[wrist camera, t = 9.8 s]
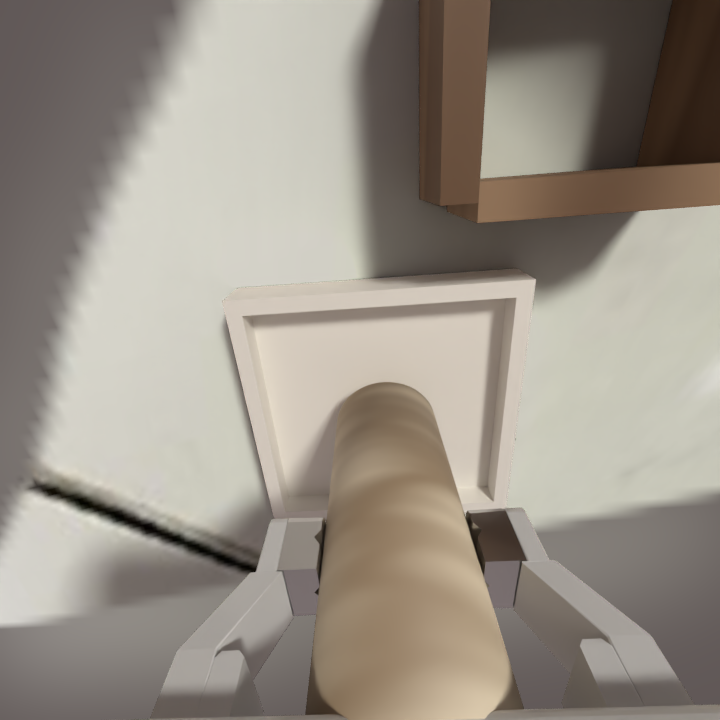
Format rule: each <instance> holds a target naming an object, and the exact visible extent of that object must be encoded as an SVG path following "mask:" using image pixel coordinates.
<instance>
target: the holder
mask: <svg viewBox="0 0 720 720" xmlns="http://www.w3.org/2000/svg"><path fill="white" fill-rule="evenodd" d="M490 4H491V0H419V198H420V199H421V200H424V201H427V202H430V203H433V204H436V205H439V206H446V205H447V212H449V213H452V214H455V215H457V216H460V217H462V218H465V219H468V220H470V221H473V222H476V223H485V222H499V221H512V220H525V219H539V218H552V217H565V216H579V215H592V214H605V213H619V212H632V211H645V210H659V209H672V208H685V207H699V206H712V205H720V0H673V2H672V7H671V11H670V16H669V20H668V25H667V29H666V34H665V38H664V43H663V48H662V52H661V57H660V61H659V66H658V70H657V75H656V79H655V84H654V89H653V93H652V98H651V102H650V107H649V111H648V116H647V120H646V125H645V130H644V134H643V139H642V143H641V148H640V152H639V157H638V161H637V166H636V167H623V168H610V169H598V170H585V171H573V172H560V173H547V174H535V175H522V176H510V177H497V178H484V179H480V171H481V155H482V138H483V121H484V104H485V88H486V71H487V54H488V38H489V21H490Z"/></svg>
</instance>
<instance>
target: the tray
mask: <svg viewBox="0 0 720 720" xmlns="http://www.w3.org/2000/svg"><path fill="white" fill-rule="evenodd" d="M535 284H536V279H535V278H533V277H531V276H529V275H528V274H526V273H524V272H522V271H521V270H519V269H517V268H514V269H500V270H486V271H472V272H457V273H443V274H429V275H415V276H401V277H387V278H372V279H358V280H344V281H330V282H316V283H301V284H287V285H273V286H259V287H245V288H237V289H236V290H234V291H233V292H232V293H231V294H230V295H229V296H227V297H226V298H225V299H224V300H223V301H222V303H223V307H224V312H225V316H226V320H227V324H228V328H229V333H230V337H231V341H232V345H233V349H234V353H235V358H236V362H237V366H238V370H239V374H240V379H241V383H242V387H243V391H244V395H245V400H246V404H247V408H248V412H249V416H250V420H251V425H252V429H253V433H254V437H255V441H256V446H257V450H258V454H259V458H260V462H261V467H262V471H263V475H264V479H265V483H266V487H267V492H268V496H269V500H270V504H271V508H272V513H273V517H274V519H285V518H325V519H327V511H328V502H329V493H330V484H331V475H332V465H333V456H334V447H335V438H336V429H337V420H338V414H339V411H340V409H341V407H342V405H343V404H344V402H345V401H346V400H347V398H348V397H349V396H351V395H352V394H353V393H354V392H356V391H357V390H359V389H361V388H363V387H365V386H367V385H370V384H374V383H380V382H395V383H400V384H404V385H407V386H410V387H412V388H413V389H415V390H417V391H418V392H420V393H421V394H422V395H423V396H424V397H425V398H426V399H427V400H428V402H429V403H430V405H431V407H432V409H433V412H434V415H435V418H436V422H437V425H438V428H439V432H440V435H441V438H442V441H443V445H444V448H445V451H446V455H447V458H448V461H449V464H450V468H451V471H452V474H453V478H454V481H455V484H456V487H457V491H458V494H459V497H460V501H461V504H462V507H463V510H464V513H467V510H482V509H499V508H502V509H504V508H506V504H507V497H508V489H509V481H510V474H511V466H512V459H513V451H514V444H515V436H516V428H517V421H518V413H519V406H520V398H521V390H522V383H523V375H524V368H525V360H526V353H527V345H528V337H529V330H530V322H531V315H532V307H533V299H534V292H535Z"/></svg>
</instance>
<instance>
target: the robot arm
mask: <svg viewBox="0 0 720 720" xmlns="http://www.w3.org/2000/svg"><path fill="white" fill-rule="evenodd" d="M466 520H467V523H468V527H469V530H470V533H471V537H472V540H473V543H474V546H475V550H476V553H477V556H478V560H479V563H480V566H481V569H482V573H483V576H484V579H485V583H486V586H487V589H488V592H489V596H490V599H491V602H492V606H493V608H514V611H515V612H516V613H517V614H518V615H519V616H520V618H521V619H522V620H523V621H524V622H525V623H526V624H527V626H528V627H529V628H530V629H531V630H532V631H533V632H534V633H535V635H536V636H537V637H538V638H539V639H540V640H541V641H542V643H543V644H544V645H545V646H546V647H547V648H548V649H549V650H550V652H551V653H552V654H553V655H554V656H555V657H556V659H557V660H558V661H559V662H560V663H561V664H562V665H563V666H564V668H565V669H566V670H567V671H568V672H569V673H570V674H571V675H570V678H569V681H568V684H567V687H566V690H565V694H564V697H563V699H562V705H563V708H561V709H521V710H497V711H493V712H491V713H490V714H489V715H488V716H487V717H486V718H485V719H449V720H720V704H718V705H695V704H694V703H693V701H692V699H691V698H690V696H689V695H688V693H687V692H686V690H685V688H684V687H683V685H682V684H681V682H680V680H679V679H678V677H677V676H676V674H675V673H674V671H673V670H672V668H671V666H670V665H669V663H668V662H667V660H666V658H665V657H664V655H663V654H662V652H661V651H660V649H659V647H658V646H657V644H656V643H655V641H654V639H653V638H652V636H651V635H650V634H649V633H647V632H646V631H644V630H643V629H642V628H641V627H640V626H638V625H637V624H636V623H634V622H633V621H632V620H630V619H629V618H628V617H627V616H626V615H624V614H623V613H622V612H621V611H619V610H618V609H617V608H615V607H614V606H613V605H612V604H610V603H609V602H608V601H607V600H605V599H604V598H603V597H601V596H600V595H599V594H597V593H596V592H595V591H594V590H593V589H591V588H590V587H589V586H587V585H586V584H585V583H584V582H582V581H581V580H580V579H579V578H577V577H576V576H575V575H573V574H572V573H571V572H570V571H568V570H567V569H566V568H564V567H563V566H562V565H560V564H559V563H558V562H557V561H555V560H549V559H548V556H547V554H546V552H545V550H544V548H543V546H542V544H541V542H540V540H539V538H538V536H537V534H536V532H535V530H534V528H533V526H532V524H531V522H530V520H529V518H528V516H527V514H526V512H525V510H524V509H523V508H504V509H502V508H499V509H482V510H467V513H466ZM325 530H326V523H325V518H285V519H272V520H271V522H270V523H269V526H268V530H267V533H266V537H265V540H264V544H263V548H262V551H261V555H260V559H259V562H258V566H257V569H256V572H252V573H250V574H249V575H248V576H247V577H246V578H245V579H244V580H243V581H242V582H241V583H240V584H239V585H238V586H237V587H236V588H235V589H234V591H233V592H232V593H231V594H230V595H229V596H228V597H227V598H226V599H225V600H224V601H223V602H222V603H221V604H220V606H218V607H217V609H216V610H215V611H214V612H213V613H212V614H211V615H210V616H209V617H208V618H207V619H206V620H205V621H204V623H202V625H201V626H200V627H199V628H198V629H197V630H196V631H195V632H194V633H193V634H192V635H191V636H190V637H189V638H188V639H187V640H186V641H185V642H184V644H183V645H182V646H181V647H180V648H179V649H178V650H177V652H176V654H175V657H174V659H173V662H172V664H171V667H170V669H169V672H168V675H167V677H166V680H165V682H164V685H163V687H162V689H161V692H160V695H159V697H158V699H157V702H156V705H155V707H154V709H153V712H152V715H151V717H150V719H131V720H348V719H347V718H345V717H343V716H340V715H335V714H323V715H286V716H263V712H264V710H263V707H262V705H261V702H260V699H259V696H258V694H257V691H256V688H255V685H254V683H253V680H254V678H255V677H256V675H257V674H258V672H259V670H260V669H261V667H262V666H263V664H264V663H265V661H266V659H267V658H268V656H269V655H270V654H271V652H272V650H273V649H274V647H275V646H276V644H277V642H278V641H279V640H280V638H281V637H282V635H283V633H284V632H285V630H286V629H287V627H288V626H289V624H290V623H291V621H292V620H293V616H299V615H313V614H314V615H315V614H316V613H317V603H318V594H319V585H320V576H321V567H322V557H323V548H324V539H325Z"/></svg>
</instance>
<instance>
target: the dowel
mask: <svg viewBox="0 0 720 720" xmlns="http://www.w3.org/2000/svg"><path fill="white" fill-rule="evenodd" d="M521 709H524V707H523V704H522V701H521V698H520V694H519V691H518V688H517V684H516V681H515V678H514V674H513V671H512V668H511V665H510V661H509V658H508V655H507V652H506V648H505V645H504V642H503V638H502V635H501V632H500V629H499V625H498V622H497V619H496V615H495V612H494V609H493V606H492V602H491V599H490V596H489V592H488V589H487V586H486V583H485V579H484V576H483V573H482V569H481V566H480V563H479V560H478V556H477V553H476V550H475V546H474V543H473V540H472V537H471V533H470V530H469V527H468V523H467V520H466V517H465V514H464V510H463V507H462V504H461V501H460V497H459V494H458V491H457V487H456V484H455V481H454V478H453V474H452V471H451V468H450V464H449V461H448V458H447V455H446V451H445V448H444V445H443V441H442V438H441V435H440V432H439V428H438V425H437V422H436V418H435V415H434V412H433V409H432V407H431V405H430V403H429V402H428V400H427V399H426V398H425V397H424V396H423V395H422V394H421V393H420V392H418V391H417V390H415V389H413V388H412V387H410V386H407V385H404V384H400V383H395V382H380V383H374V384H370V385H367V386H365V387H363V388H361V389H359V390H357V391H356V392H354V393H353V394H352V395H351V396H349V397H348V398H347V400H346V401H345V402H344V404H343V405H342V407H341V409H340V411H339V414H338V420H337V429H336V438H335V447H334V456H333V465H332V475H331V484H330V493H329V502H328V511H327V521H326V530H325V539H324V548H323V557H322V567H321V576H320V585H319V594H318V603H317V613H316V622H315V631H314V640H313V650H312V659H311V668H310V677H309V686H308V695H307V705H306V714H305V715H323V714H335V715H340V716H343V717H345V718H347V719H348V720H449V719H485V718H486V717H487V716H488V715H489V714H490V713H491V712H493V711H497V710H521Z"/></svg>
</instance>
